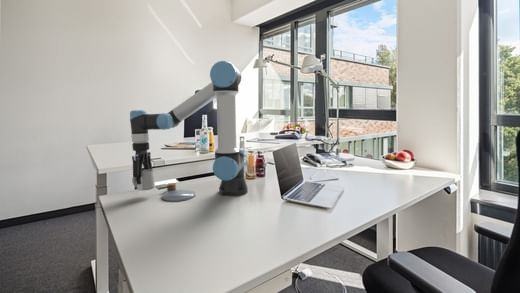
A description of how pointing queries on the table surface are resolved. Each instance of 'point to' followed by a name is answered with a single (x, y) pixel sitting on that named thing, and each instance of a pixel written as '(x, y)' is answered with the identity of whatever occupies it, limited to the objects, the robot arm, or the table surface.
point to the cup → (146, 179)
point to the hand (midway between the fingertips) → (144, 187)
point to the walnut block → (171, 187)
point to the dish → (178, 195)
